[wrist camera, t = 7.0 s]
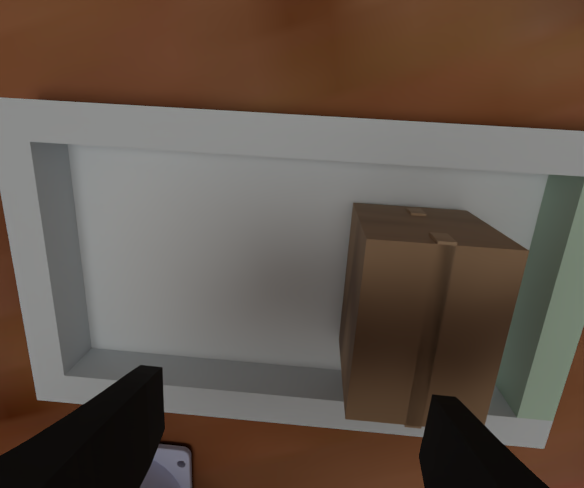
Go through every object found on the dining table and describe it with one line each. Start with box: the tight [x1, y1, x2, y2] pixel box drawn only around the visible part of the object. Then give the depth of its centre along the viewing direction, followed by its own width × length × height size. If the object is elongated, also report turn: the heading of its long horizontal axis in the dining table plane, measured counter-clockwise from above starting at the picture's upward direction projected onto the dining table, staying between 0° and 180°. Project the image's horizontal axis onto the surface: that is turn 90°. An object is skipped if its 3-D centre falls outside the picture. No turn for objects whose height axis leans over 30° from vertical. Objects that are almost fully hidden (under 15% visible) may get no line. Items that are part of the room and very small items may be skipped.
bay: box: [0, 98, 584, 449], centre depth 18 cm, size 14×25×3 cm, turn 87°
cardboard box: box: [339, 203, 529, 429], centre depth 16 cm, size 7×5×6 cm
